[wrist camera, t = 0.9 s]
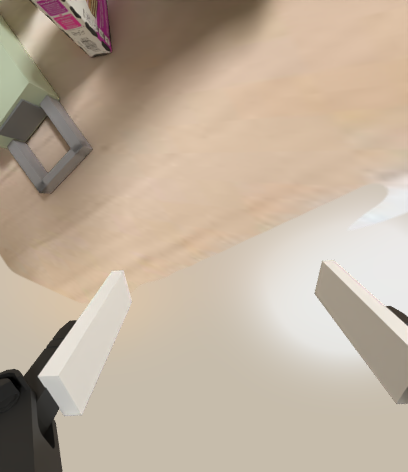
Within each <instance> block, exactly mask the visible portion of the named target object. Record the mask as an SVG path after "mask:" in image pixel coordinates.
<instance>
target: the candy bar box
mask: <svg viewBox="0 0 408 472" xmlns="http://www.w3.org/2000/svg"><path fill="white" fill-rule="evenodd" d="M30 1H31V2H32V3H33V4H34V5H35V6H36V7H37V8H39V9H40V10H41V11H42V12H43V13H44V14H45V15H46V16H47V17H49V18H50V20H52V21H53V22H54V23H55V24H56V25H57V26H58V27H59V28H60V29H61V30H62V31H63V32H64V33H65V34H66V35H67V36H69V37H70V38H71V39H72V40H73V41H74V42H75V43H76V44H77V45H78V46H79V47H80V48H81V49H82V50H84V51H85V52H86V53H87V54H88V55H89V56H90V57H95V56H98V55H104V54H109V53H112V49H111V40H110V31H109V21H108V11H107V1H106V0H30Z"/></svg>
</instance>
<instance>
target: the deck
mask: <svg viewBox="0 0 408 472" xmlns="http://www.w3.org/2000/svg"><path fill="white" fill-rule="evenodd" d="M59 100H60V98H59V97H58V95H57V94H56V93H55V91H54V90H53V88H52V87H51V85H50V84H49V83H48V81H47V80H46V78H45V77H44V76H43V74H42V73H41V71H40V70H39V69H38V67H37V66H36V64H35V63H34V61H33V60H32V59H31V57H30V56H29V54H28V53H27V52H26V50H25V49H24V47H23V46H22V44H21V43H20V42H19V40H18V39H17V37H16V36H15V35H14V33H13V32H12V30H11V29H10V27H9V26H8V25H7V23H6V22H5V20H4V19H3V18H2V16H1V15H0V147H1V148H6V149H9V151H10V152H11V154H12V155H13V156H14V158H15V159H16V161H17V162H18V163H19V165H20V166H21V168H22V169H23V170H24V172H25V173H26V175H27V176H28V177H29V179H30V180H31V182H32V183H33V184H34V186H35V187H36V189H37V190H38V191H39V193H52V192H53V191H54V190H55V189H56V188H57V186H58V185H59V184H60V183H61V182H62V181H63V180H64V179H65V178H66V177H67V176H68V175H69V174H70V173H71V172H72V171H73V170H74V169H75V168H76V167H77V165H78V164H79V163H80V162H81V161H82V160H83V159H84V158H85V157H86V156H87V155H88V154H89V153H90V152H91V151H92V150H93V149H92V147H91V146H90V145H89V143H88V142H87V140H86V139H85V137H84V136H83V135H82V133H81V132H80V130H79V129H78V128H77V126H76V125H75V123H74V122H73V120H72V119H71V118H70V116H69V115H68V113H67V112H66V111H65V109H64V108H63V106H62V105H61V103H60V102H59ZM47 115H48V117H49V118H50V120H51V121H52V122H53V124H54V125H55V127H56V128H57V130H58V131H59V132H60V134H61V135H62V137H63V138H64V139H65V141H66V142H67V144H68V145H69V146H70V148H71V149H70V150H69V151H68V152H67V153H66V154H65V155H64V157H63V158H62V159H61V160H60V161H59V162H58V163H57V164H56V165H55V166H54V168H53V169H52V170H51V171H50V172H49V173H47V172H46V170H45V169H44V167H43V166H42V164H41V163H40V162H39V160H38V159H37V157H36V156H35V155H34V153H33V152H32V150H31V149H30V148H29V146H28V145H27V143H26V141H27V140H28V139H29V137H30V136H31V135H32V134H33V132H34V131H35V130H36V129H37V127H38V126H39V125H40V124H41V122H42V121H43V120H44V119H45V117H46V116H47Z"/></svg>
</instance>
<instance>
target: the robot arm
mask: <svg viewBox="0 0 408 472" xmlns="http://www.w3.org/2000/svg"><path fill="white" fill-rule="evenodd" d="M315 295H316V296H317V298H318V299H319V300H320V302H321V303H322V304H323V306H324V307H325V308H326V310H327V311H328V312H329V314H330V315H331V316H332V318H333V319H334V321H335V322H336V323H337V325H338V326H339V327H340V329H341V330H342V331H343V333H344V334H345V335H346V337H347V338H348V339H349V341H350V342H351V343H352V345H353V346H354V347H355V349H356V350H357V351H358V353H359V354H360V355H361V357H362V358H363V360H364V361H365V362H366V364H367V365H368V366H369V368H370V369H371V370H372V372H373V373H374V375H375V376H376V377H377V378H378V380H379V381H380V383H381V384H382V385H383V387H384V388H385V389H386V391H387V392H388V393H389V395H390V396H391V397H392V399H393V400H394V401H395V403H396V404H405V403H406V404H407V403H408V317H407V316H406V315H405V314H403V313H402V312H400V311H399V310H397V309H395V308H393V307H391V306H384V305H383V304H382V303H381V302H380V301H379V300H378V299H377V298H375V296H373V295H372V294H371V293H370V292H369V291H368V290H367V289H366V288H364V287H363V286H362V285H361V284H360V283H359V282H358V281H357V280H355V279H354V278H353V277H352V276H351V275H350V274H349V273H348V272H346V271H345V270H344V269H343V268H342V267H341V266H340V265H339V264H337V263H336V262H335V261H334V260H329V261H322V264H321V268H320V272H319V277H318V281H317V285H316V290H315ZM131 303H132V300H131V296H130V292H129V289H128V285H127V281H126V278H125V274H124V270H119V271H112V272H111V273H110V275H109V276H108V277H107V279H106V280H105V282H104V283H103V285H102V286H101V287H100V289H99V290H98V292H97V293H96V295H95V296H94V297H93V299H92V300H91V302H90V303H89V304H88V306H87V308H86V309H85V310H84V312H83V313H82V314H81V316H80V317H79V319H78V320H74V321H69V322H68V323H67V324H65V325H64V326H63V327H62V328H61V329H60V330H59V331H58V332H57V334H56V335H55V336H54V338H53V340H52V341H50V343H49V344H48V345H47V348H46V349H44V351H43V352H42V353H41V355H40V356H39V357H38V358H37V360H36V361H35V362H34V364H33V365H32V366H31V368H30V369H29V370H28V372H27V373H26V374H25V375H24V377H23V375H22V374H21V372H20V371H19V370H16V369H12V370H6V371H3V372H1V373H0V472H62V465H61V458H60V450H59V443H58V435H57V429H56V423H55V420H54V417H55V415H56V414H57V412H58V410H59V409H60V411H61V412H62V413H63V415H64V416H76V415H82V414H83V412H84V409H85V407H86V405H87V403H88V400H89V398H90V396H91V394H92V391H93V389H94V387H95V384H96V382H97V380H98V378H99V375H100V373H101V371H102V369H103V366H104V364H105V362H106V360H107V357H108V355H109V353H110V351H111V348H112V346H113V344H114V342H115V339H116V337H117V335H118V333H119V330H120V328H121V326H122V324H123V321H124V319H125V317H126V314H127V312H128V310H129V308H130V305H131Z"/></svg>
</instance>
